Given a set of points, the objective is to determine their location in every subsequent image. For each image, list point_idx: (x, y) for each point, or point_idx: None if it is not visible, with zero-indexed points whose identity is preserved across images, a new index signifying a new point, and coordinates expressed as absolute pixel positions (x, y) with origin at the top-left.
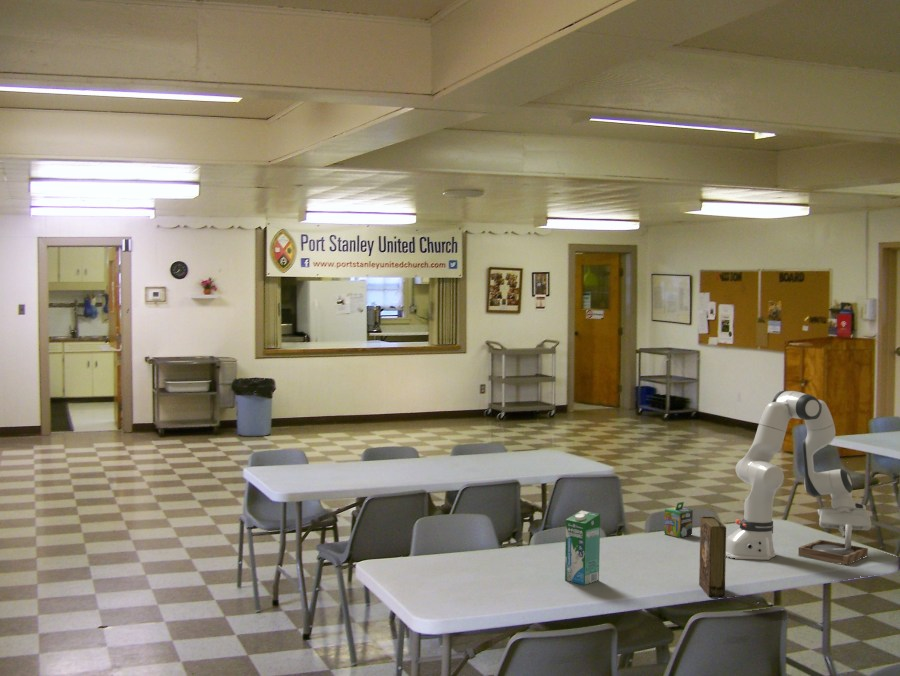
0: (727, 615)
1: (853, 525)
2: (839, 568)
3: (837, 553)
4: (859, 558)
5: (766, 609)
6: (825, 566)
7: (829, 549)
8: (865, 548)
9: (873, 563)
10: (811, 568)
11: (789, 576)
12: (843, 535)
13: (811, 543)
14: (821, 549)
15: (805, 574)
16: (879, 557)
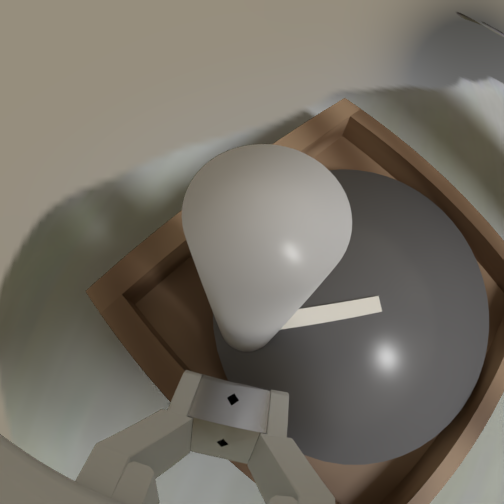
0: (489, 26)
1: (47, 468)
2: (371, 103)
3: (375, 187)
4: None
5: (465, 18)
6: (421, 131)
7: (406, 296)
8: (104, 287)
9: (165, 162)
10: (459, 122)
11: (487, 86)
12: (283, 392)
13: (484, 415)
14: (452, 290)
15: (462, 85)
16: (51, 292)
